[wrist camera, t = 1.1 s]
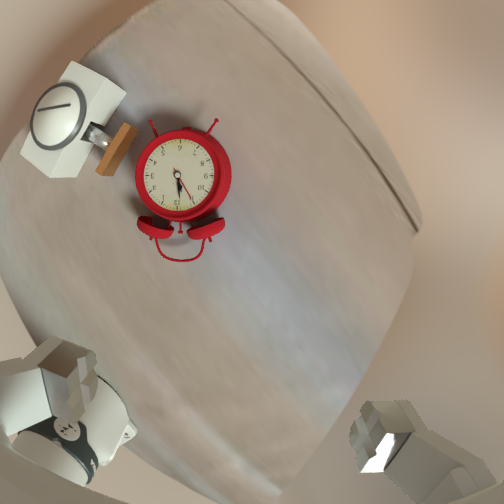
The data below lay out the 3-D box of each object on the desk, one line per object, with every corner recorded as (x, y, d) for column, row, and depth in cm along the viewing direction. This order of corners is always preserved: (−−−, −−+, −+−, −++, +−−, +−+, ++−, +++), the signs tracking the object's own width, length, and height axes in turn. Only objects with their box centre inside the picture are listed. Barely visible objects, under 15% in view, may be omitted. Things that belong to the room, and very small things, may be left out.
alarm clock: (232, 113, 28) (225, 265, 28) (234, 135, 34) (228, 263, 34) (133, 116, 28) (119, 260, 28) (150, 137, 34) (140, 260, 34)
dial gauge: (80, 180, 32) (49, 181, 25) (44, 153, 31) (12, 150, 24) (131, 95, 30) (108, 78, 24) (90, 73, 29) (64, 56, 22)
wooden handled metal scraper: (112, 176, 31) (101, 175, 28) (75, 150, 30) (62, 148, 27) (140, 130, 30) (131, 126, 27) (101, 106, 29) (89, 101, 26)
